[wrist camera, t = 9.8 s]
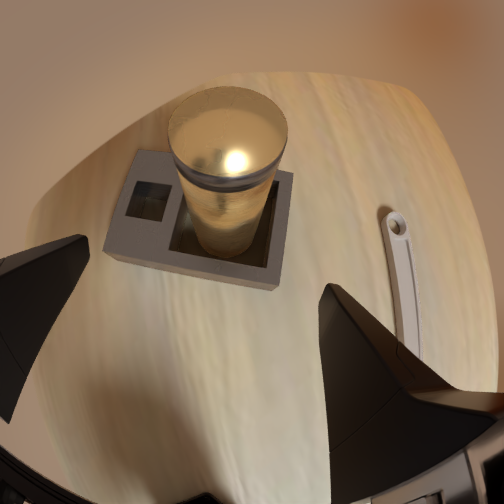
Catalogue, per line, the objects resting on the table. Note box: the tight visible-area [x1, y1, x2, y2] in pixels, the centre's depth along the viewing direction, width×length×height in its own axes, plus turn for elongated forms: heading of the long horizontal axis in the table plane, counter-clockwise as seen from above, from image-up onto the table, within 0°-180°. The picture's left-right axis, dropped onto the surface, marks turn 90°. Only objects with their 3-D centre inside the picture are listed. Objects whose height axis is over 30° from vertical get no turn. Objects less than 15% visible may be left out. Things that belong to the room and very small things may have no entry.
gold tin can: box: [168, 86, 288, 258], centre depth 16 cm, size 5×5×12 cm
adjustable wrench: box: [381, 212, 423, 362], centre depth 20 cm, size 25×6×2 cm, turn 179°
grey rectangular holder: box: [102, 150, 293, 291], centre depth 20 cm, size 13×9×3 cm
